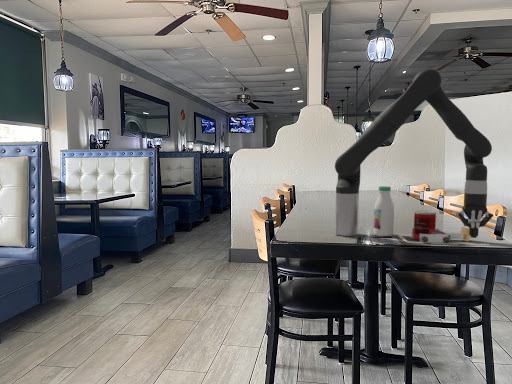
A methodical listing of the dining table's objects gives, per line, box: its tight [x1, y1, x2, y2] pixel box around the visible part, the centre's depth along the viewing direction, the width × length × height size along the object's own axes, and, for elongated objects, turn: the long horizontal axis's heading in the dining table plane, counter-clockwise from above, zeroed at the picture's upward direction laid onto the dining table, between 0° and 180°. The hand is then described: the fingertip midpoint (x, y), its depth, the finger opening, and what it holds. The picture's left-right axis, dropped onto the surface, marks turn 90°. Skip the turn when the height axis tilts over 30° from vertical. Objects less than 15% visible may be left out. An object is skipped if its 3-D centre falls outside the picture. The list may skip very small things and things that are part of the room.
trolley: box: [410, 226, 470, 243], centre depth 150 cm, size 18×15×4 cm
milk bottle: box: [373, 185, 395, 237], centre depth 160 cm, size 8×8×20 cm
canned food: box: [413, 209, 437, 242], centre depth 151 cm, size 8×8×11 cm
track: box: [397, 234, 490, 246], centre depth 150 cm, size 29×15×1 cm, turn 82°
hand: (473, 237), depth 149 cm, fingers closed
